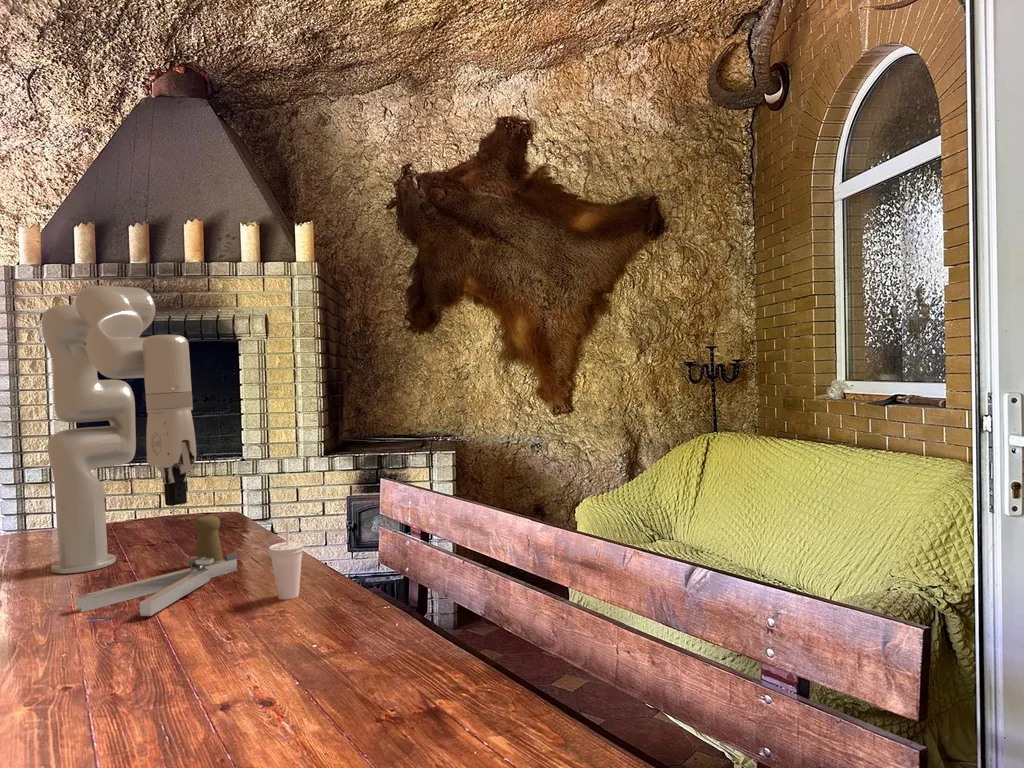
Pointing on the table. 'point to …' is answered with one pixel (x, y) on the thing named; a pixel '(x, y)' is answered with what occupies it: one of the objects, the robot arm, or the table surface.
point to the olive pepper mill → (208, 538)
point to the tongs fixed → (151, 584)
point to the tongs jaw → (177, 588)
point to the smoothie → (287, 566)
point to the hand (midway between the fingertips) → (176, 504)
